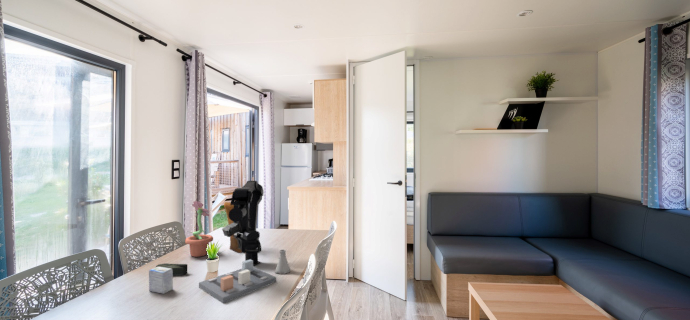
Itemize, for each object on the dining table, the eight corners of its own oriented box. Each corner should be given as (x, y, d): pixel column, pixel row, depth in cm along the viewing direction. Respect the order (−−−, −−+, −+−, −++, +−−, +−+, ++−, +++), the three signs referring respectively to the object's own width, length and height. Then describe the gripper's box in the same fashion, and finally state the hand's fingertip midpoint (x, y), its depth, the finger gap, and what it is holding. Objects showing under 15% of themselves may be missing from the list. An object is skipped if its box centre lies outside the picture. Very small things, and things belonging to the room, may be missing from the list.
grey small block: (242, 271, 131) (242, 261, 131) (250, 269, 134) (250, 259, 134) (245, 273, 129) (245, 263, 129) (253, 270, 132) (253, 260, 132)
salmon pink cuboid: (220, 289, 113) (220, 278, 113) (230, 286, 116) (230, 274, 116) (223, 291, 112) (223, 279, 111) (233, 287, 115) (233, 276, 115)
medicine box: (173, 289, 118) (173, 268, 118) (163, 294, 114) (163, 272, 114) (159, 286, 120) (158, 265, 120) (148, 291, 116) (148, 269, 116)
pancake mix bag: (239, 255, 158) (239, 204, 158) (222, 248, 171) (222, 201, 171) (250, 252, 163) (250, 203, 163) (233, 245, 176) (233, 199, 176)
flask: (286, 275, 133) (286, 253, 132) (272, 273, 134) (272, 252, 134) (292, 269, 140) (292, 248, 140) (278, 268, 141) (278, 247, 141)
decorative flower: (219, 253, 161) (219, 200, 161) (195, 261, 149) (195, 203, 149) (204, 249, 169) (203, 198, 169) (180, 256, 157) (179, 201, 157)
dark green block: (188, 262, 135) (154, 263, 133) (185, 265, 132) (150, 265, 130) (188, 273, 135) (153, 273, 133) (185, 276, 132) (150, 276, 130)
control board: (198, 287, 120) (198, 281, 120) (250, 270, 138) (250, 264, 138) (222, 303, 107) (222, 296, 107) (276, 281, 125) (276, 275, 125)
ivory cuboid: (238, 283, 119) (238, 272, 119) (247, 280, 122) (247, 269, 122) (241, 284, 117) (241, 273, 117) (250, 281, 120) (250, 270, 120)
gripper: (214, 216, 129) (214, 251, 129) (236, 222, 117) (236, 261, 117) (237, 212, 137) (237, 245, 138) (260, 218, 125) (260, 254, 126)
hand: (242, 251), depth 129 cm, fingers closed
